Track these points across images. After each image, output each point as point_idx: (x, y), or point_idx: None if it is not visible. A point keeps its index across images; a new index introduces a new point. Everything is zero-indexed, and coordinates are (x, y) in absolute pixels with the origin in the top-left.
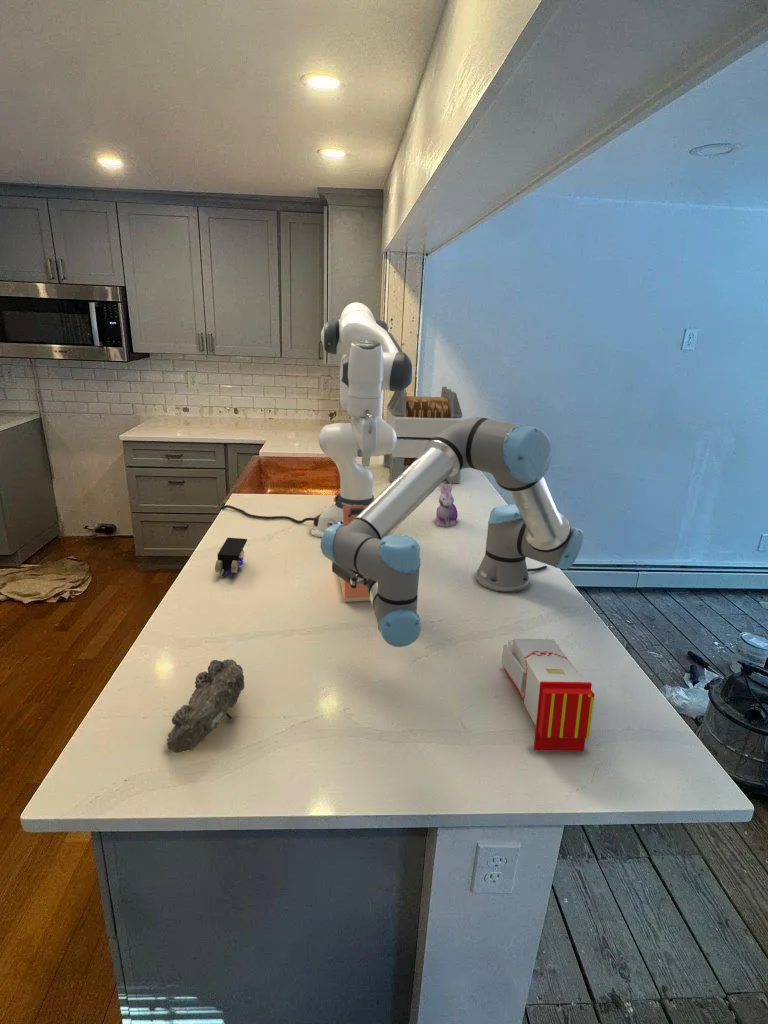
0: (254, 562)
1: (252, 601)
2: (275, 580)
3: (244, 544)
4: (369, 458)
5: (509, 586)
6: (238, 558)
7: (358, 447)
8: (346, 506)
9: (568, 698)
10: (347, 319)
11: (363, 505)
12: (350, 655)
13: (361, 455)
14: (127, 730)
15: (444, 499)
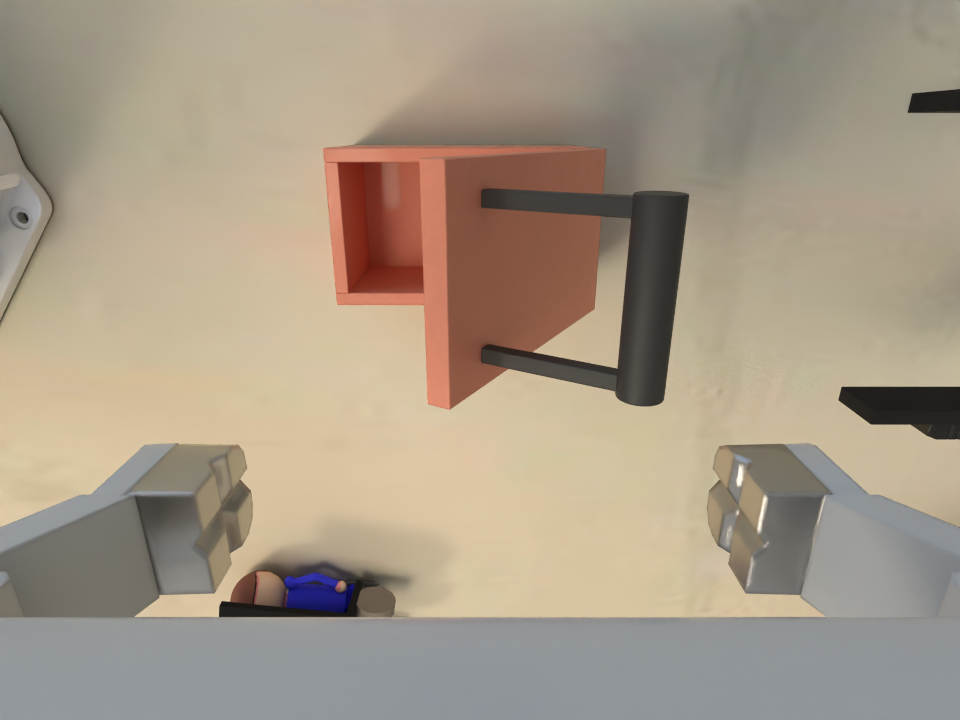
0: (264, 532)
1: (524, 528)
2: (396, 474)
3: (261, 608)
4: (905, 518)
5: None
6: (351, 610)
7: (116, 607)
8: (451, 388)
9: None
10: None
11: (447, 276)
12: (875, 291)
13: (236, 486)
14: None
15: None
